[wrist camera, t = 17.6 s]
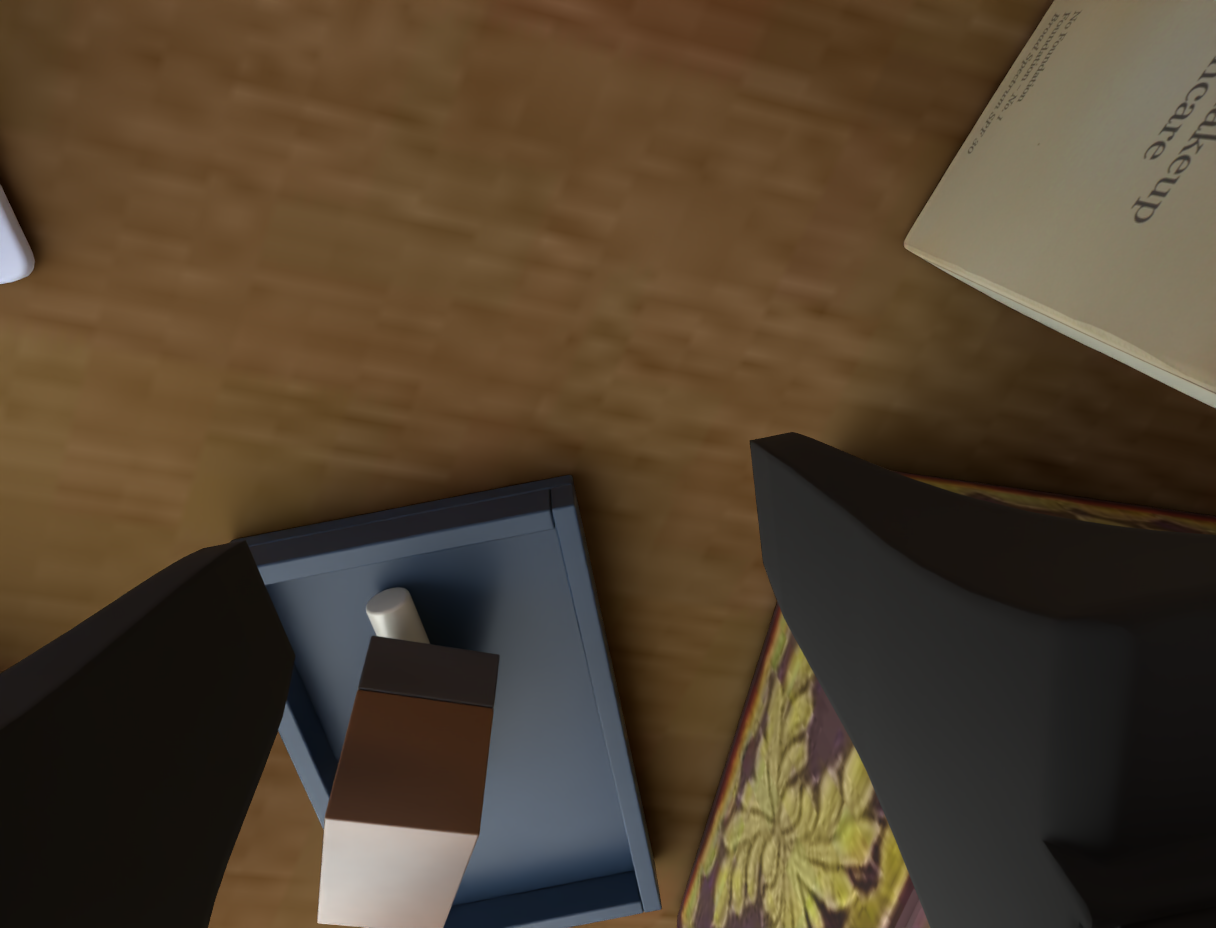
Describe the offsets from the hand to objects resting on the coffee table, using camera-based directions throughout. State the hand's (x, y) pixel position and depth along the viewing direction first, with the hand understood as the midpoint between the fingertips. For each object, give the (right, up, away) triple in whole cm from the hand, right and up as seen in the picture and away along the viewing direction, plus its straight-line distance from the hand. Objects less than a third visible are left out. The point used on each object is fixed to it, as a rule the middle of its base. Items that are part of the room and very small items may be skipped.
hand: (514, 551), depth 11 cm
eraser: (-4, -6, +11) cm, 13 cm away
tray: (-3, -7, +13) cm, 15 cm away
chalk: (-4, -3, +11) cm, 12 cm away
